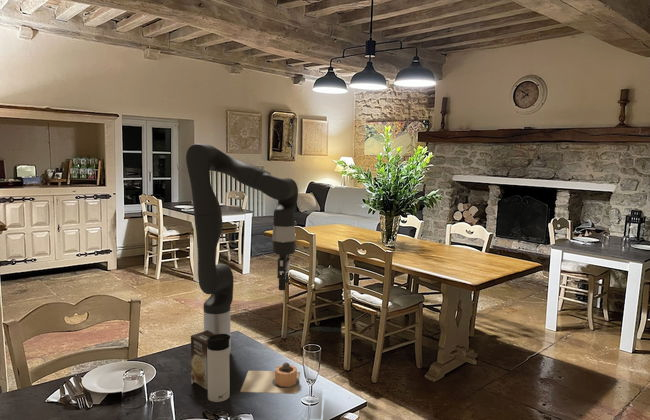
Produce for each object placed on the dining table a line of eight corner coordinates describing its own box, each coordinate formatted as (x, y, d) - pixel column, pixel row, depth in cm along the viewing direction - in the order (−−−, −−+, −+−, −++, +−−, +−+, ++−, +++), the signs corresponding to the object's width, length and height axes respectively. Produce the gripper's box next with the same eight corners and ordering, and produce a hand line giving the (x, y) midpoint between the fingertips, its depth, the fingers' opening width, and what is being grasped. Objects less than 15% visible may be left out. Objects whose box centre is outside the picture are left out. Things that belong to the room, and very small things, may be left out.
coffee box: (190, 384, 149) (189, 335, 147) (207, 377, 154) (207, 329, 152) (206, 394, 143) (206, 343, 141) (224, 387, 148) (224, 337, 146)
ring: (274, 386, 146) (274, 373, 145) (276, 376, 152) (276, 364, 152) (295, 386, 146) (295, 374, 145) (297, 376, 152) (297, 364, 152)
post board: (240, 396, 142) (240, 371, 142) (248, 374, 156) (248, 352, 155) (297, 398, 142) (297, 373, 141) (300, 376, 156) (301, 353, 155)
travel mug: (225, 408, 136) (225, 340, 133) (204, 405, 137) (203, 338, 135) (234, 397, 142) (233, 332, 140) (213, 394, 143) (212, 330, 141)
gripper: (275, 234, 165) (275, 280, 167) (269, 242, 151) (269, 292, 153) (297, 235, 165) (296, 281, 167) (293, 243, 151) (292, 292, 153)
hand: (283, 286), depth 160 cm, fingers open, 8 cm apart
